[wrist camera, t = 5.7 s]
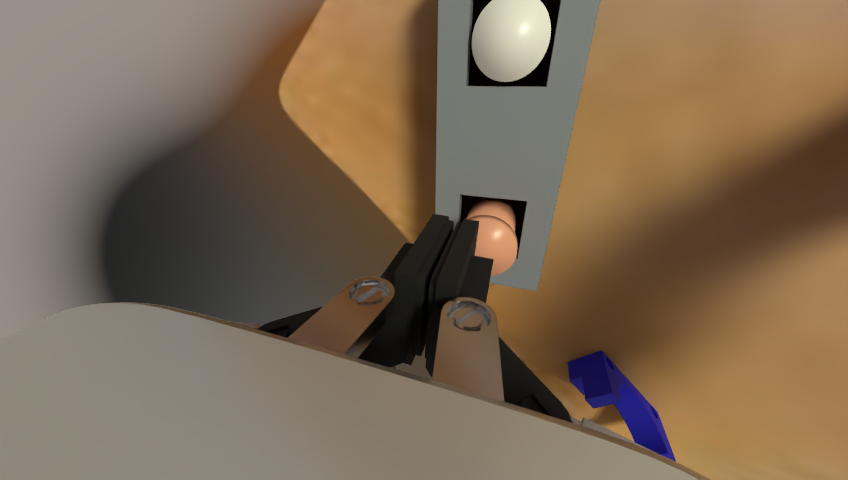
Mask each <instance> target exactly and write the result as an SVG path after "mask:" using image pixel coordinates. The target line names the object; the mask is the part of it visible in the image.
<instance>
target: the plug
mask: <svg viewBox="0 0 848 480" xmlns="http://www.w3.org/2000/svg"><path fill="white" fill-rule="evenodd" d="M550 36H551V23H550V17H549V14H548V11H547V9H546V7H545V6H544V4H543V3H542V2H541V1H540V0H492V1H491V2H490V3H489V4H488V5H487V6H486V7H485V8H484V9H483V11H482V12H481V14H480V15H479V17H478V19H477V21H476V23H475V26H474V30H473V34H472V52H473V57H474V60H475V62H476V64H477V66H478V67H479V69H480V70H481V71H482V72H483V74H485V75H486V76H487V77H489V78H491V79H493V80H495V81H499V82H511V81H515V80H518V79H521V78H523V77H525V76H526V75H528V74H529V73H530V72H532V71H533V70H534V69H535V68H536V67H537V66H538V64H539V63H540V62H541V60H542V59H543V57H544V55H545V53H546V51H547V48H548V45H549V42H550Z"/></svg>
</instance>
